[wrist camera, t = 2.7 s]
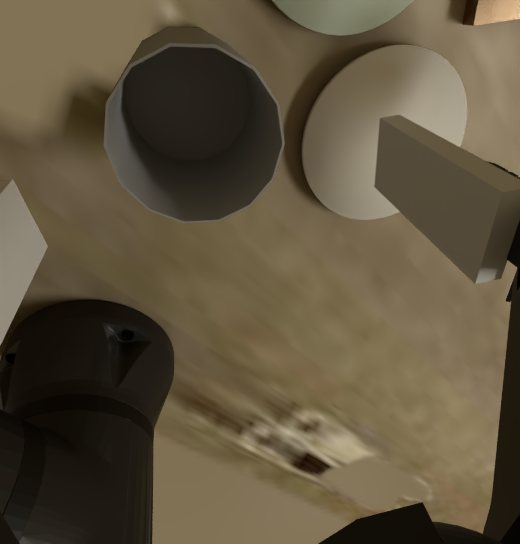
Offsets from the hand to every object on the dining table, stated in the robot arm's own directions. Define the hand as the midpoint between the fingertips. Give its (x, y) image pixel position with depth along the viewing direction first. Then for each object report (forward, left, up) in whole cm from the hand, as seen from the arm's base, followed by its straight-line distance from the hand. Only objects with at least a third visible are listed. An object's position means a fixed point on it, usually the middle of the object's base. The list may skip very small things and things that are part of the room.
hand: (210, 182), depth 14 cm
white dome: (+14, -5, -15) cm, 21 cm away
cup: (0, 0, -15) cm, 15 cm away
